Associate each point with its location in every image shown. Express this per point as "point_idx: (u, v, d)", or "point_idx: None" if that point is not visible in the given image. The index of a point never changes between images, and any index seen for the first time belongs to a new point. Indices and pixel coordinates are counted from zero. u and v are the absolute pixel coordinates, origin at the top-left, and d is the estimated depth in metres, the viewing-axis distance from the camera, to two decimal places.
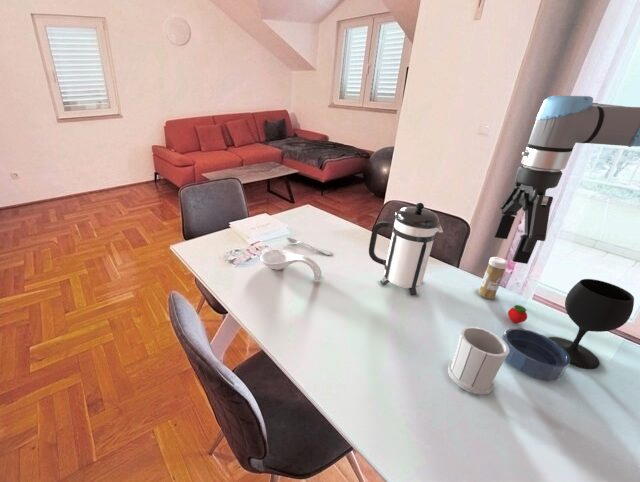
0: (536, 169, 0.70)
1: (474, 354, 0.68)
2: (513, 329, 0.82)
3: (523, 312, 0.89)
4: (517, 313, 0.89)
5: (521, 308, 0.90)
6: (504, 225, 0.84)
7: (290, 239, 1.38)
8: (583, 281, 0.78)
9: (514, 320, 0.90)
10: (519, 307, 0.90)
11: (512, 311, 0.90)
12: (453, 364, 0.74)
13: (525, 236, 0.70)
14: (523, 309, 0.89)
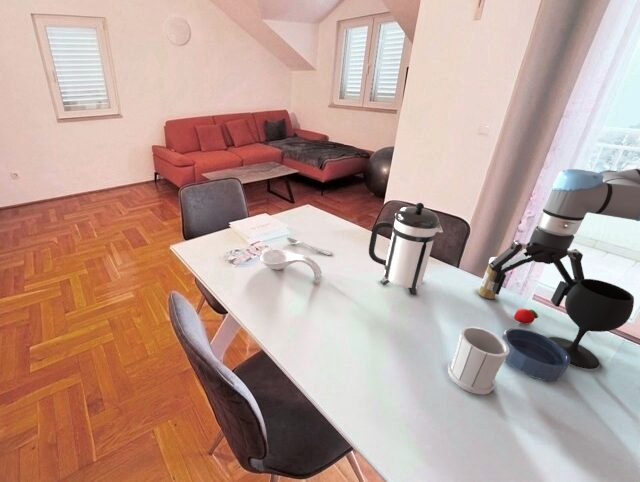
0: (571, 234, 0.78)
1: (475, 354, 0.68)
2: (513, 329, 0.82)
3: (535, 317, 0.89)
4: (532, 313, 0.89)
5: None
6: None
7: (290, 239, 1.38)
8: (583, 281, 0.78)
9: (523, 316, 0.90)
10: None
11: (528, 310, 0.90)
12: (453, 364, 0.74)
13: None
14: None
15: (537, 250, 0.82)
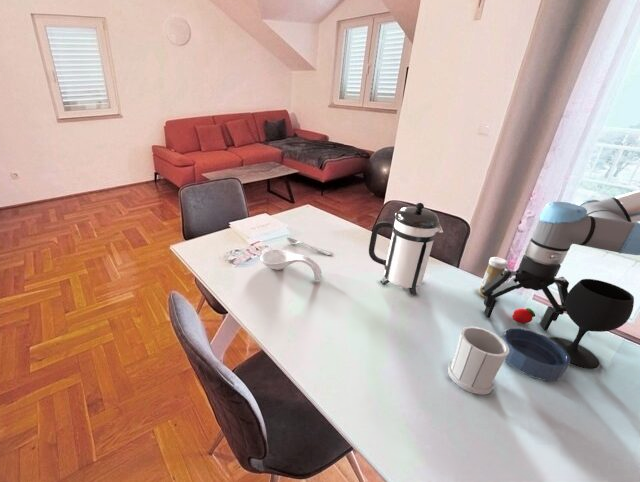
0: (558, 263, 0.81)
1: (475, 354, 0.68)
2: (513, 329, 0.82)
3: (533, 315, 0.89)
4: (528, 312, 0.90)
5: None
6: None
7: (290, 239, 1.38)
8: (583, 281, 0.78)
9: (520, 316, 0.90)
10: None
11: (524, 309, 0.91)
12: (453, 364, 0.74)
13: None
14: None
15: (526, 277, 0.85)
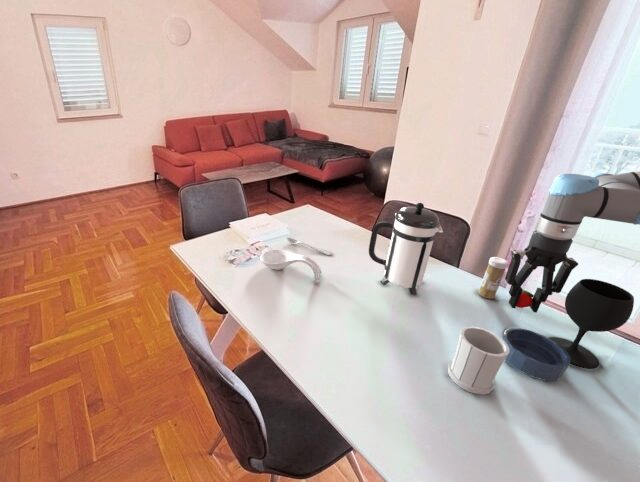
0: (569, 238, 0.78)
1: (475, 354, 0.68)
2: (513, 329, 0.82)
3: (531, 295, 0.88)
4: (525, 294, 0.89)
5: None
6: None
7: (290, 239, 1.38)
8: (583, 281, 0.78)
9: (519, 301, 0.89)
10: None
11: None
12: (453, 364, 0.74)
13: None
14: None
15: (536, 254, 0.83)
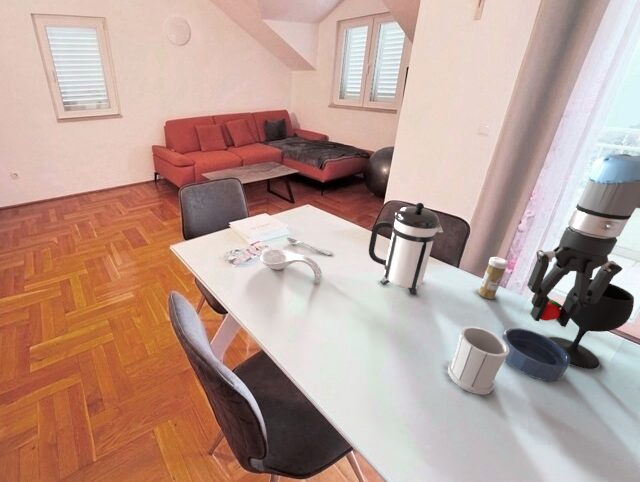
0: (613, 237, 0.62)
1: (475, 354, 0.68)
2: (513, 329, 0.82)
3: (558, 306, 0.73)
4: (551, 304, 0.73)
5: None
6: None
7: (290, 239, 1.38)
8: None
9: (544, 312, 0.73)
10: None
11: None
12: (453, 364, 0.74)
13: None
14: None
15: (569, 256, 0.67)
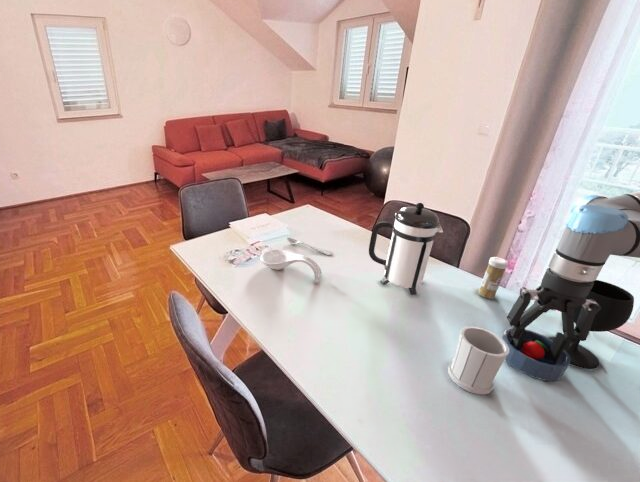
0: None
1: (475, 354, 0.68)
2: None
3: (544, 348, 0.77)
4: (539, 346, 0.77)
5: None
6: None
7: (290, 239, 1.38)
8: None
9: (531, 351, 0.77)
10: None
11: (533, 342, 0.78)
12: (453, 364, 0.74)
13: None
14: None
15: (550, 296, 0.71)
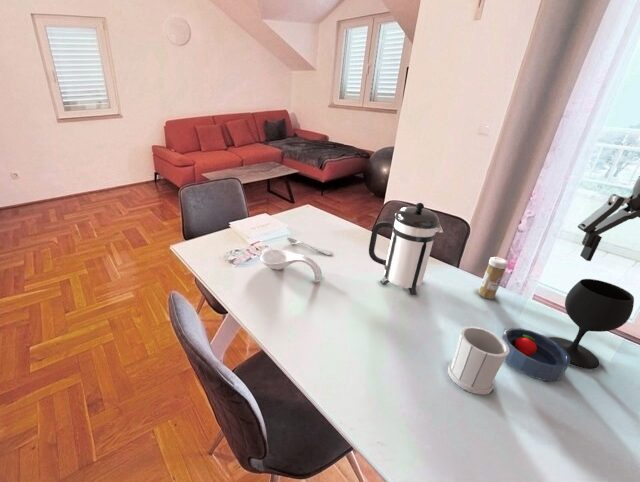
0: None
1: (475, 354, 0.68)
2: (513, 329, 0.82)
3: (530, 338, 0.79)
4: (523, 338, 0.80)
5: None
6: None
7: (290, 239, 1.38)
8: (583, 281, 0.78)
9: (520, 346, 0.79)
10: None
11: (519, 338, 0.81)
12: (453, 364, 0.74)
13: None
14: None
15: None
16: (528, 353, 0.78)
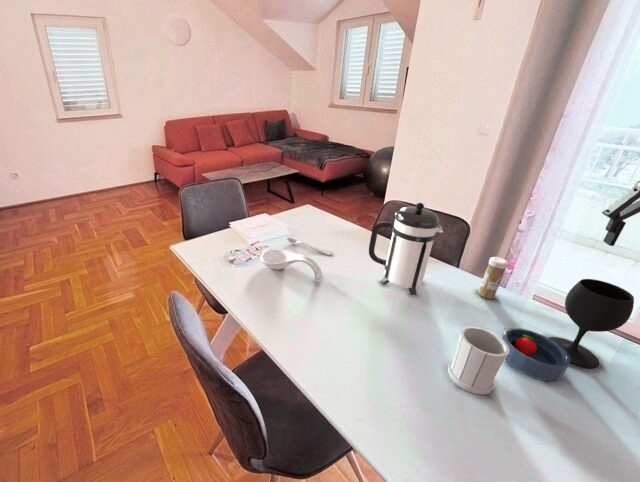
0: None
1: (474, 354, 0.68)
2: (513, 329, 0.82)
3: (530, 338, 0.79)
4: (523, 338, 0.80)
5: None
6: None
7: (290, 239, 1.38)
8: (583, 281, 0.78)
9: (520, 346, 0.79)
10: None
11: (519, 338, 0.81)
12: (453, 364, 0.74)
13: None
14: None
15: None
16: (528, 353, 0.78)
